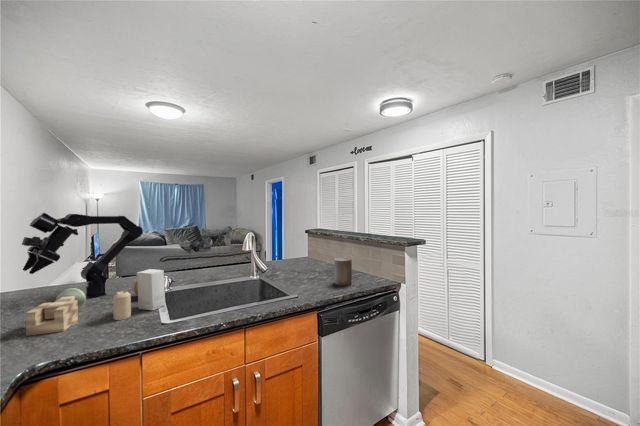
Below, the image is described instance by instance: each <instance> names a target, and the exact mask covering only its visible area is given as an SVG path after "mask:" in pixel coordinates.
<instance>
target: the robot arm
mask: <svg viewBox="0 0 640 426" xmlns="http://www.w3.org/2000/svg"><path fill="white" fill-rule="evenodd" d="M102 224H103V225H104V224H105V225H106V224H107V225H108V224H109V225H110V224H113V225H115V224H118V225H119V226H120V228H121V229H122V230H123V232H121V233H122V234H121V236H120V238H119V239H118V240H117V241H116V242H114V244H113V245H112V246H111V247H109V249H107V251H105V253H103V254H102V255H101V256H100V257H99V258H98V259H97V260H96V261H93V262H92V261H89V262H88V263H87V264H86V265H85V266H84V267H82V268H81V269H82V270H80V277H81V278H82V279H83V280H85V281H86V282H87V284H86V286H85V295H86V297H87V298H88V299H91V298H97V297H102V296H107V293H106V282H107V280H108V278H107V277H106V276H104V275H103V274H104V272H105V270H106V268H107V266H108V265H109V264H110V263H111V261H113V260H114V259H115V258H116V257H117V256H118V255H119V254H120V253H121V252H122V250H124V249H125V248H126V247H127V246H128V245H129V244H130V243H132V242H134V241H135V240H137V239H138V238H139V237H141V236H142V235H143V233H144V232H143V231H144V230H143V228H142V227H141V226H139V225H137V224H136V223H134V222H133V221H131V220H130V219H129V218H127V217H126V216H124V215H117V216H115V215H100V216H99V215H93V216H92V215H88V214H87V215H86V214H79V213H68V214H66V215H65V216H64V217H61V218H55V217H52V216H51V215H49V214H47V213H46V212H42V213H41V214H39V216H37V217H35V218H34V219H33V220H31V222H30V224H29V227H31V228H34V229H35V230H37V231H40V232H42V233H44V234H46V233H50V234H49V235H48V236H46V237H44V238H43V239H41V237H40V236H32V237H28V236H24V238H23V240H22V243H21V245H22V246H26V247H29V248H28V249H27V253H26V254H28V255H27V256H28V259H27V260H26V262H25V264H24V266H23V268H22V271H24V272H27V271H28V270H29V272H28V273H29V274H30V275H33V274H35V273H37V272H39V271H41V270H42V269H45V268H46V267H49V266H50V265H52V264H54V263H55V262H59V260H60V259H61V254H59V253H57V252H58V250H60V248H61V247H64V245H65V244H64V243H66V241H67V240H68V239H69V238H70V237H71V235H74V236H79V232H78V228H79V227H84V226H89V225H102ZM62 225H64V226H62ZM72 227H74V228H72Z"/></svg>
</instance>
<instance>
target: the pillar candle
mask: <svg viewBox="0 0 640 426" xmlns="http://www.w3.org/2000/svg"><path fill="white" fill-rule="evenodd" d="M352 262H353V261H352V258H350V257H344V256H342V257H335V258H334V263H333V264H334V265H333V266H334V267H333V268H334V270H333V271H334V273H333V275H334V281H333V282H334V284H335V285H336V286H342V287H343V286H351V285H352V283H353V282H352V275H353V274H352V271H353V269H352V268H353V267H352V265H353V264H352Z"/></svg>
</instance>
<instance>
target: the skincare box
mask: <svg viewBox="0 0 640 426" xmlns="http://www.w3.org/2000/svg"><path fill="white" fill-rule="evenodd" d="M164 275H165V273H164V269H155V268H154V269H153V268H148V269H145V270H141V271H137V272H136V281H137V286H138V295H137V300H138V301H137V302H138V309H140V310H145V311H155V310H158V309H160V308H159V307H161V306H163V307H164V305H165V306H166V294H165V292H166V291H165V276H164ZM161 308H162V307H161Z"/></svg>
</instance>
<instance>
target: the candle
mask: <svg viewBox="0 0 640 426" xmlns="http://www.w3.org/2000/svg"><path fill="white" fill-rule="evenodd" d="M131 297H132V294H131V293H130V292H128V291H127V290H121V291H117V292H116V293H115V294H114V295H113V297H112V306H113V310H112V311H113V312H112V313H113V314H112V315H113V320H114V321H122V320H126V319H129V318H130V317H131V316H132V301H131V299H132V298H131Z"/></svg>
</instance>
